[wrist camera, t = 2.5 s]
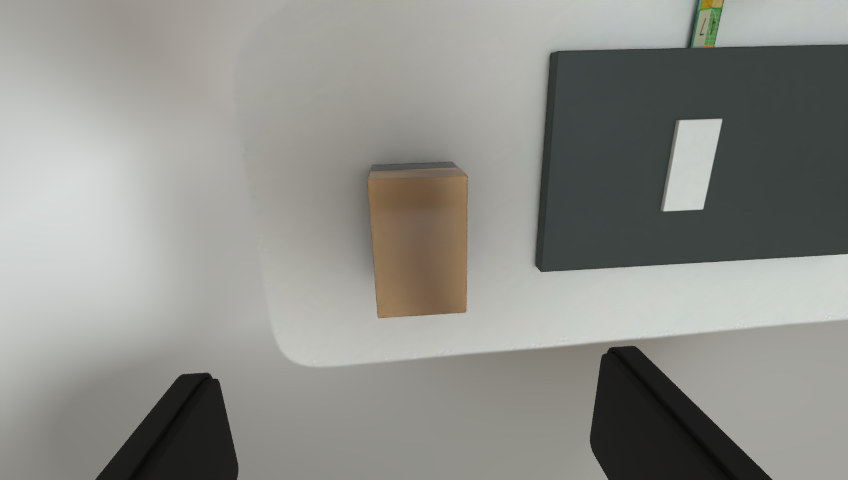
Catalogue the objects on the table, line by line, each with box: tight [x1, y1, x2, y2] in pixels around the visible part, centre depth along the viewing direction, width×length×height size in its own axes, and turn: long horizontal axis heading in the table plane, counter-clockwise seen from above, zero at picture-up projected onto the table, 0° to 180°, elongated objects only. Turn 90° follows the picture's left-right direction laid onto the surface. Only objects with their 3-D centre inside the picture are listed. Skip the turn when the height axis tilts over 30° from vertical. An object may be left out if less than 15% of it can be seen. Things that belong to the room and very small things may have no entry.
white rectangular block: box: [661, 119, 722, 211], centre depth 22 cm, size 2×5×1 cm, turn 2°
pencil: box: [690, 0, 724, 48], centre depth 20 cm, size 1×1×18 cm
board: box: [536, 44, 848, 272], centre depth 22 cm, size 20×12×1 cm, turn 92°
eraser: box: [367, 162, 467, 318], centre depth 21 cm, size 4×7×4 cm, turn 2°
